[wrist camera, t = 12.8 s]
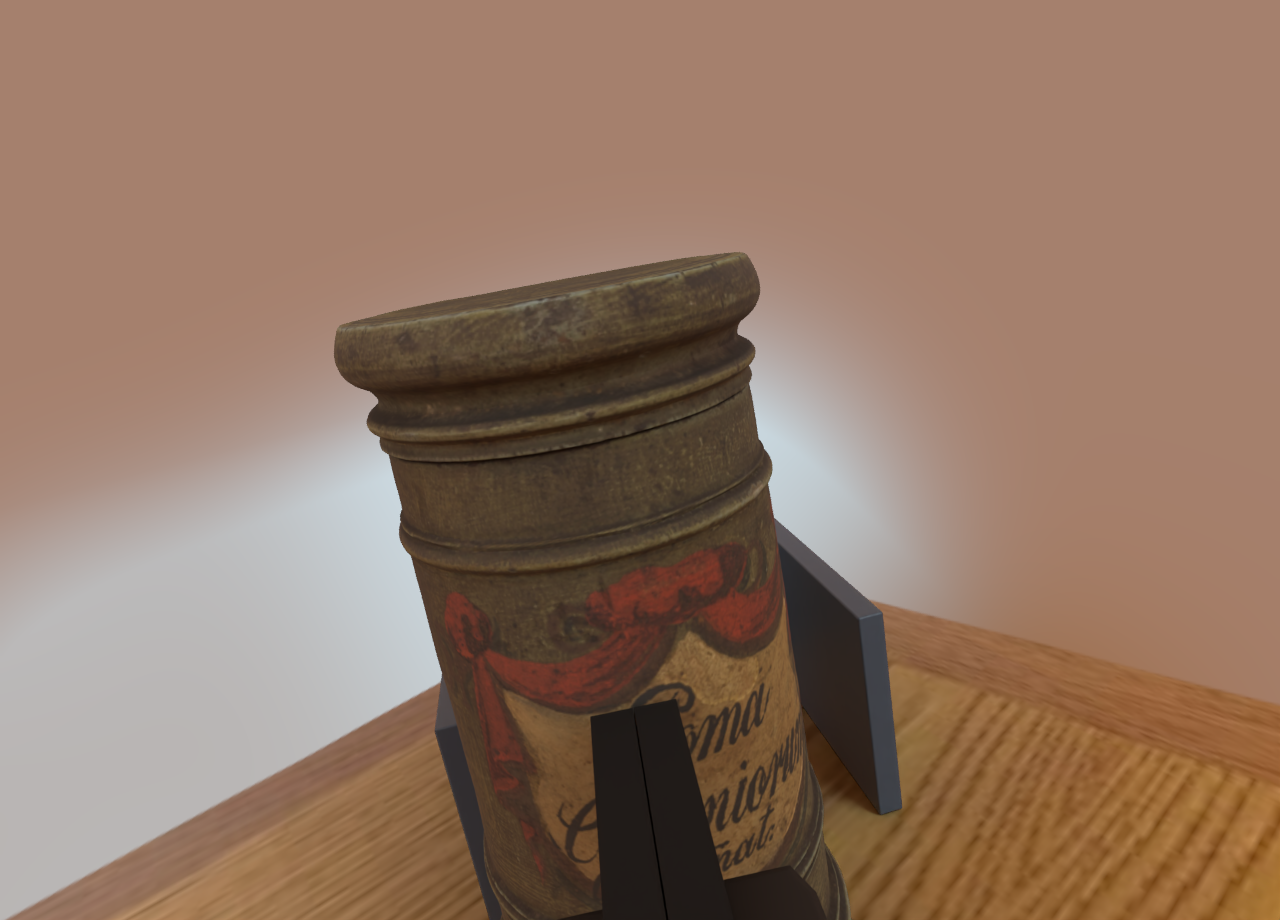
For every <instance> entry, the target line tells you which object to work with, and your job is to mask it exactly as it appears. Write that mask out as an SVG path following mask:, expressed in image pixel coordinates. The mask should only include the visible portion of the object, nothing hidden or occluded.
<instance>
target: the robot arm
mask: <svg viewBox="0 0 1280 920" xmlns="http://www.w3.org/2000/svg"><path fill="white" fill-rule="evenodd" d="M634 711H635V717H636V723H637V728H636V723H635V717H634V712H633V708H629V709H624V710H619V711H615V712H610V713H605V714H600V715H595V716H591V717H590V722H591V738H592V754H593V769H594V785H595V801H596V817H597V832H598V848H599V864H600V880H601V895H602V909H601V910H597V911H592V912H588V913H583V914H579V915H575V916H570V917H566V918H561V919H557V920H827V918H826V915H825V913H824V910H823V908H822V905H821V903H820V900H819V898H818V895H817V893H816V891H815V890H814V889H813V888H812V887H811V886H810V885H809V884H808V883H807V882H806V881H805V880H804V879H803V878H802V877H801V876H800V875H799V874H798V873H797V872H796V871H795V870H794V869H793V868H792V867H791V866H790V865H788V866H783V867H779V868H774V869H770V870H765V871H761V872H756V873H752V874H747V875H743V876H739V877H734V878H730V879H725V880H723V876H722V872H721V868H720V865H719V861H718V857H717V853H716V849H715V845H714V842H713V838H712V834H711V830H710V826H709V823H708V819H707V815H706V811H705V807H704V803H703V800H702V796H701V792H700V788H699V784H698V780H697V777H696V773H695V769H694V765H693V761H692V758H691V754H690V750H689V746H688V742H687V738H686V735H685V731H684V727H683V723H682V719H681V715H680V712H679V708H678V704H677V700H676V699H672V700H667V701H662V702H658V703H653V704H648V705H643V706H639V707H634ZM637 729H638V733H637ZM638 736H639V738H638ZM639 742H640V743H639Z"/></svg>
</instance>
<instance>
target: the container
mask: <svg viewBox="0 0 1280 920" xmlns="http://www.w3.org/2000/svg"><path fill="white" fill-rule="evenodd" d="M759 295H760V284H759V279H758V276H757V273H756V270H755V268H754V266H753V264H752V262H751V261H750V259H749V258H748V256H747V255H746V254H745V253H740V252H734V253H724V254H716V255H708V256H697V257H690V258H682V259H676V260H670V261H663V262H658V263H652V264H646V265H640V266H634V267H628V268H623V269H618V270H612V271H606V272H601V273H595V274H590V275H585V276H578V277H573V278H567V279H562V280H557V281H551V282H545V283H541V284H535V285H530V286H524V287H519V288H513V289H508V290H502V291H497V292H493V293H487V294H482V295H476V296H471V297H464V298H458V299H453V300H446V301H440V302H436V303H431V304H426V305H421V306H417V307H412V308H407V309H401V310H398V311H393V312H389V313H385V314H381V315H377V316H375V317H370V318H366V319H362V320H358V321H353V322H350V323H346V324H343V325H340V326H339V327H338V328H337V331H336V337H335V346H334V358H335V363H336V366H337V368H338V370H339V372H340V374H341V375H342V376H343V378H344V379H345V380H346V381H348V382H349V383H351V384H352V385H354V386H355V387H358V388H361V389H364V390H367V391H370V392H372V393H373V394H374V395H375V396H376V397H377V399H378V404H377V405H376V406H375V407H374V408H373V409H372V410H371V412H370V413H369V415H368V419H367V426H368V428H369V430H370V431H371V432H372V433H373V434H375V435H377V436H379V437H380V446H381V449H382V450H383V451H384V452H385V453H387V454H389V458H390V462H391V466H392V471H393V475H394V478H395V483H396V486H397V490H398V493H399V497H400V501H401V505H402V511H401V514H400V521H401V523H400V527H399V536H400V541H401V543H402V545H403V547H404V548H405V550H406V551H407V552H408V553H409V554H410V555H411V558H412V561H413V565H414V569H415V573H416V577H417V581H418V584H419V588H420V591H421V595H422V599H423V603H424V607H425V611H426V615H427V619H428V623H429V626H430V630H431V633H432V638H433V642H434V646H435V650H436V653H437V657H438V660H439V664H440V667H441V671H442V674H443V678H444V681H445V684H446V687H447V691H448V694H449V698H450V701H451V705H452V708H453V712H454V715H455V720H456V723H457V727H458V731H459V735H460V739H461V742H462V746H463V750H464V753H465V757H466V760H467V764H468V768H469V771H470V775H471V778H472V782H473V785H474V789H475V793H476V797H477V802H478V806H479V810H480V814H481V819H482V824H483V828H484V861H485V867H486V873H487V876H488V879H489V882H490V885H491V887H492V890H493V892H494V894H495V896H496V898H497V899H498V902H499V904H500V907H501V911H502V916H501V920H557V919H561V918H566V917H570V916H575V915H579V914H583V913H588V912H592V911H597V910H601V909H602V895H601V880H600V864H599V848H598V832H597V817H596V801H595V785H594V769H593V754H592V738H591V722H590V717H591V716H595V715H600V714H605V713H610V712H615V711H619V710H624V709H629V708H633V712H634V717H635V711H634V707H639V706H643V705H648V704H653V703H658V702H662V701H667V700H672V699H676V700H677V704H678V708H679V712H680V715H681V719H682V723H683V727H684V731H685V735H686V738H687V742H688V746H689V750H690V754H691V758H692V761H693V765H694V769H695V773H696V777H697V780H698V784H699V788H700V792H701V796H702V800H703V803H704V807H705V811H706V815H707V819H708V823H709V826H710V830H711V834H712V838H713V842H714V845H715V849H716V853H717V857H718V861H719V865H720V868H721V872H722V876H723V880H725V879H730V878H734V877H739V876H743V875H747V874H752V873H756V872H761V871H765V870H770V869H774V868H779V867H783V866H788V865H790V866H791V867H792V868H793V869H794V870H795V871H796V872H797V873H798V874H799V875H800V876H801V877H802V878H803V879H804V880H805V881H806V882H807V883H808V884H809V885H810V886H811V887H812V888H813V889H814V890H815V891H816V893H817V895H818V898H819V900H820V903H821V905H822V908H823V910H824V913H825V915H826V918H827V920H852V919H851V912H850V903H849V898H848V893H847V888H846V884H845V881H844V879H843V876H842V873H841V870H840V868H839V866H838V864H837V862H836V860H835V858H834V857H833V855H832V853H831V852H830V850H829V849H828V847H827V846H826V844H825V843H824V837H823V831H822V828H823V817H824V807H823V798H822V793H821V789H820V786H819V783H818V780H817V777H816V775H815V773H814V769H813V767H812V765H811V763H810V762H809V760H808V752H807V745H806V736H805V729H804V722H803V715H802V707H801V700H800V691H799V684H798V679H797V674H796V668H795V660H794V655H793V649H792V642H791V634H790V627H789V619H788V611H787V603H786V596H785V588H784V581H783V576H782V569H781V563H780V556H779V549H778V542H777V536H776V529H775V522H774V515H773V511H772V504H771V497H770V492H769V486H768V482H769V480H770V477H771V474H772V461H771V459H770V457H769V455H768V453H767V452H766V451H765V449H764V447H763V444H762V443H761V441H760V440H759V439H758V432H757V425H756V418H755V413H754V406H753V401H752V395H751V390H750V386H749V382H750V380H751V376H752V373H751V369H750V367H749V364H750V363H751V362H752V360H753V359H754V357H755V347H754V345H753V344H752V343H751V342H750V341H749V340H747V339H746V338H744V337H742V336H740V335H738V334H737V329H738V325H739V323H740V321H741V320H743V319H744V318H745V317H746V316H747V315H748V314H749V313H750V312H751V311H752V310H753V309H754V307H755V305H756V303H757V301H758V299H759ZM635 723H636V717H635ZM636 728H637V723H636ZM637 733H638V729H637ZM638 738H639V736H638ZM639 743H640V742H639Z"/></svg>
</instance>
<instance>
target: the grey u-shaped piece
mask: <svg viewBox="0 0 1280 920" xmlns="http://www.w3.org/2000/svg"><path fill="white" fill-rule="evenodd" d="M774 522H775V529H776V536H777V542H778V549H779V556H780V563H781V569H782V576H783V581H784V588H785V596H786V603H787V611H788V619H789V627H790V634H791V642H792V649H793V655H794V660H795V668H796V674H797V679H798V684H799V691H800V700H801V705H802V706H803V707H804V709H805V710H806V712H807V713H808V714H809V716H810V717H811V719H812V720H813V721H814V723H815V724H816V726H817V727H818V729H819V730H820V731H821V733H822V734H823V736H824V737H825V738H826V740H827V741H828V743H829V744H830V745H831V747H832V748H833V750H834V751H835V752H836V754H837V755H838V757H839V758H840V759H841V761H842V762H843V764H844V765H845V766H846V768H847V769H848V771H849V772H850V773H851V775H852V776H853V778H854V779H855V780H856V782H857V783H858V785H859V786H860V787H861V789H862V790H863V792H864V793H865V794H866V796H867V797H868V799H869V800H870V801H871V803H872V804H873V806H874V807H875V808H876V810H877V811H878V813H879V814H880V815H882V814H885V813H889V812H892V811H895V810H899V809H901V808H902V800H901V790H900V780H899V771H898V761H897V751H896V741H895V731H894V721H893V711H892V701H891V692H890V682H889V672H888V662H887V652H886V642H885V632H884V622H883V613H882V612H881V611H880V610H879V609H878V608H877V607H876V606H875V605H873V604H872V603H871V602H870V601H869V600H868V599H867V598H865V597H864V596H863V595H862V594H861V593H860V592H859V591H857V590H856V589H855V588H854V587H853V586H852V585H851V584H849V583H848V582H847V581H846V580H845V579H844V578H843V577H841V576H840V575H839V574H838V573H837V572H836V571H834V570H833V569H832V568H831V567H830V566H829V565H827V564H826V563H825V562H824V561H823V560H822V559H821V558H820V557H818V556H817V555H816V554H815V553H814V552H813V551H811V550H810V549H809V548H808V547H807V546H806V545H805V544H803V543H802V542H801V541H800V540H799V539H798V538H797V537H795V536H794V535H793V534H792V533H791V532H790V531H789V530H787V529H786V528H785V527H784V526H783V525H781V524H780V523H779V522H778V521H777V520H776V519H775V518H774ZM435 734H436V737H437V741H438V744H439V748H440V751H441V755H442V758H443V761H444V765H445V768H446V772H447V775H448V779H449V782H450V785H451V789H452V792H453V796H454V799H455V803H456V806H457V809H458V813H459V816H460V820H461V823H462V826H463V830H464V833H465V837H466V840H467V844H468V847H469V850H470V854H471V857H472V861H473V864H474V868H475V871H476V874H477V878H478V881H479V885H480V888H481V892H482V895H483V898H484V902H485V905H486V909H487V912H488V916H489V919H490V920H501V916H502V911H501V907H500V904H499V902H498V899H497V898H496V896H495V894H494V892H493V890H492V887H491V885H490V882H489V879H488V876H487V873H486V867H485V861H484V828H483V824H482V819H481V814H480V810H479V806H478V802H477V797H476V793H475V789H474V785H473V782H472V778H471V775H470V771H469V768H468V764H467V760H466V757H465V753H464V750H463V746H462V742H461V739H460V735H459V731H458V727H457V723H456V720H455V715H454V712H453V708H452V705H451V701H450V698H449V694H448V691H447V687H446V684H445V681H444V678H443V674H442V679H441V686H440V694H439V702H438V709H437V717H436V725H435Z"/></svg>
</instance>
